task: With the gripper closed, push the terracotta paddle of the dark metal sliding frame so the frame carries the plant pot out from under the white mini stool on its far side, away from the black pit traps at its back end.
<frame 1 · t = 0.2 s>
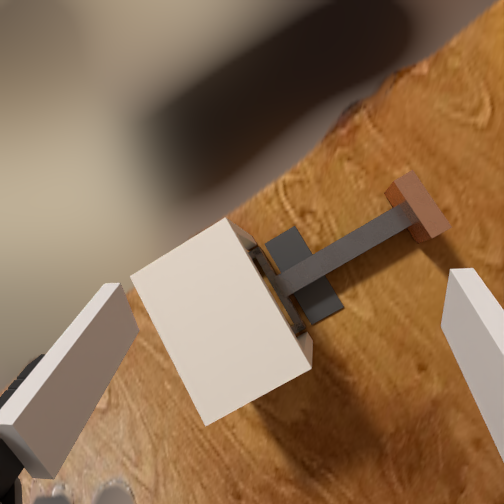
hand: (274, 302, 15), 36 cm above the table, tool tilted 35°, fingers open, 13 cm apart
white mini stool: (245, 308, 51), on the table
sled: (308, 270, 46), point 3 cm above the table, slide at 0.0 cm
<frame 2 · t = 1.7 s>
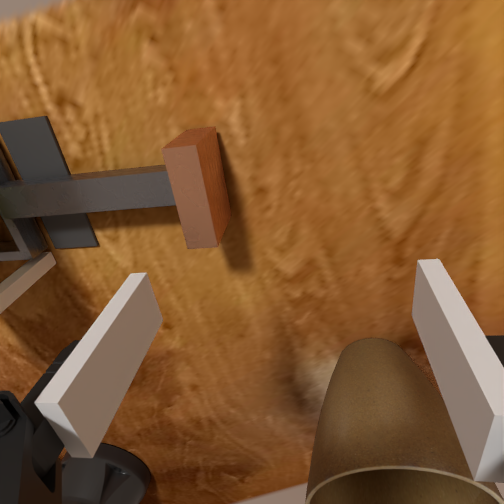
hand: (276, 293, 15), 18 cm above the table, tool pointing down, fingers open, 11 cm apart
sled: (37, 201, 32), point 3 cm above the table, slide at 0.0 cm
plant pot: (370, 360, 41), on the table
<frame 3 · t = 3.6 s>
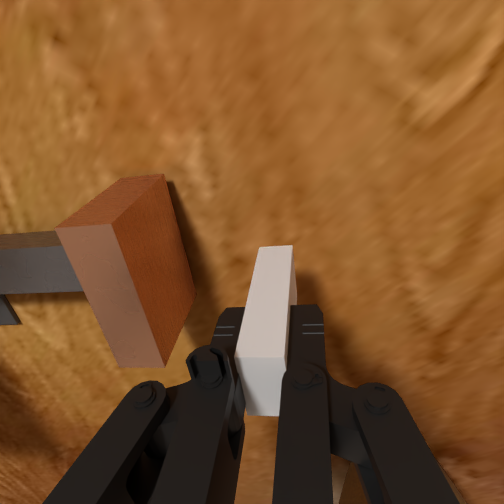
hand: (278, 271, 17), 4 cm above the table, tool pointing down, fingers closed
plant pot: (391, 466, 31), on the table
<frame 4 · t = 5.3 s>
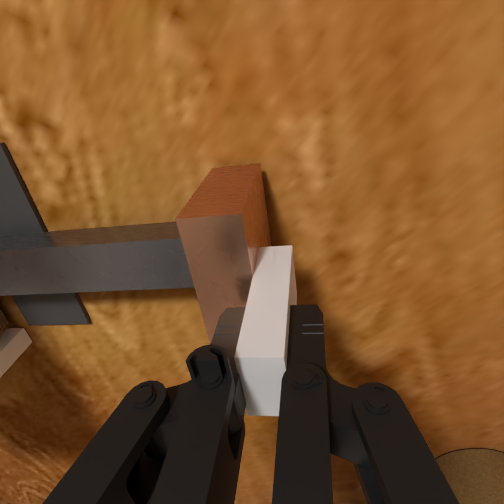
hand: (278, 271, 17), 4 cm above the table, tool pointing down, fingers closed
plant pot: (470, 471, 30), on the table
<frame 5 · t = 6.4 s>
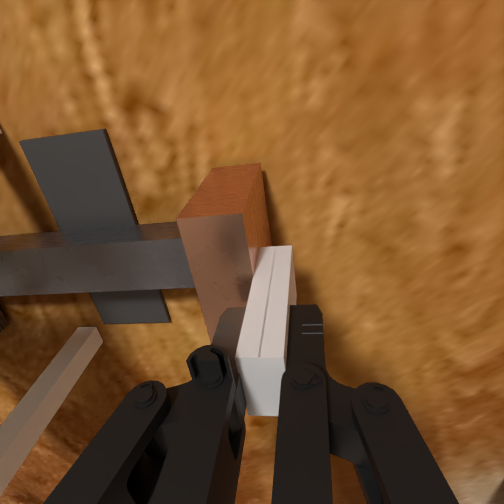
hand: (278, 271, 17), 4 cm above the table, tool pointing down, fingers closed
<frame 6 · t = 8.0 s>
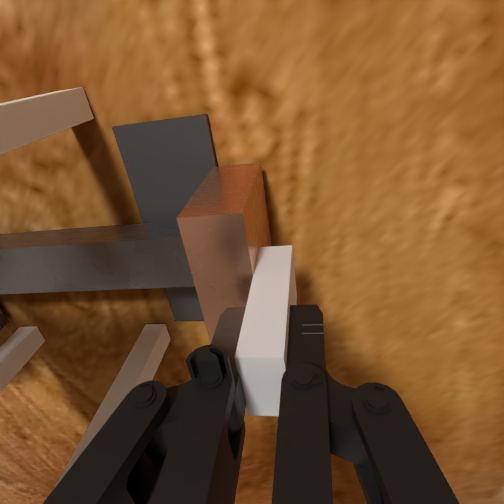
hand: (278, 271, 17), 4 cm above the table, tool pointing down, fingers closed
white mini stool: (49, 243, 23), on the table
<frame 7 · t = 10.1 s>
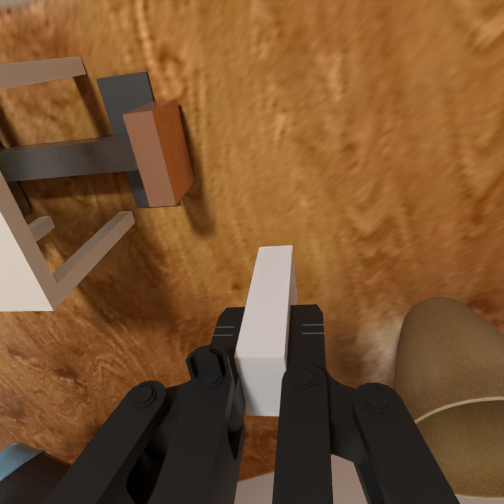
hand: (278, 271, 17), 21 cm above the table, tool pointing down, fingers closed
white mini stool: (59, 154, 38), on the table
sled: (19, 166, 35), point 3 cm above the table, slide at 12.6 cm
plant pot: (434, 321, 43), on the table
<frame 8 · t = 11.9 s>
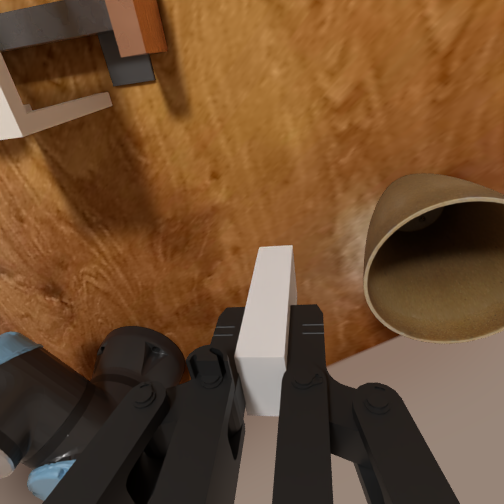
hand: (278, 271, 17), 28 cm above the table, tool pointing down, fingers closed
white mini stool: (36, 30, 39), on the table
plant pot: (409, 204, 43), on the table
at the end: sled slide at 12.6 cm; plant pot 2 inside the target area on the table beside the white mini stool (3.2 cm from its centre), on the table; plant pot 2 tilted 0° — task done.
